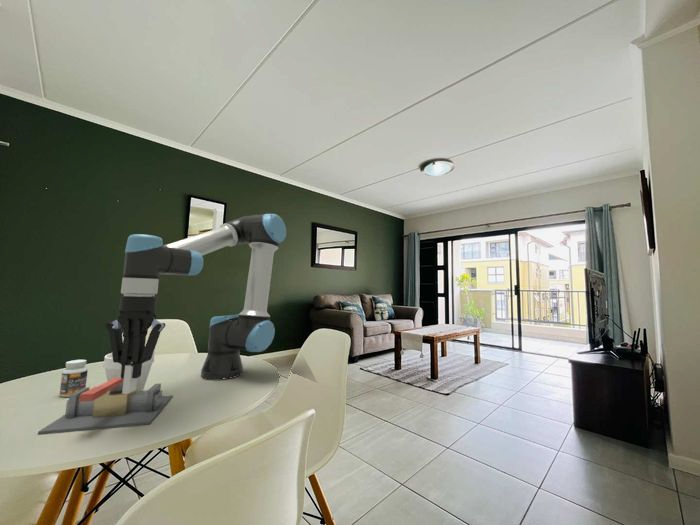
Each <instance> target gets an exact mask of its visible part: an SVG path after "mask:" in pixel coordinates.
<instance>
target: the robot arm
mask: <svg viewBox="0 0 700 525" xmlns="http://www.w3.org/2000/svg"><path fill="white" fill-rule="evenodd" d="M284 222H285V221H284V220H283V219H282V217H281V216H279V215H278V214H276V213H265V214H255V215H254V214H253V215H244V216H242V217H239V218H237V219H233V220H230V221H228V222H225V223H223V224H220V225H219V227H218V228H215V229H214V228H213V229H211V230H209V231H205V232H202V233H199V234H195V235H193V236H190V237H189V236H188V237H187V238H183V239H181V240H177V241H174V242H171V243H168V244H164V243H163V241H164V240H163V239H162V237H160V236H156V235H151V234H143V233H142V234H141V233H140V234H139V233H138V234H137V233H135V234H130V235H129V236H128V237H127V240H126V246H125V250H124V254H125V255H124V264H123V271H122V272H123V273H122V275H123V276H122V280H121V288H120V294H122V296H121V297H120V299H119V305H118V306H119V307H118V309H119V314H118V315H117V317H116V319H115V320H113V321H112V322H107V323H106V324H105V328H106V329H107V332H108V334H109V342H110V347H111V353H112V356H113V362H115V363H116V362H117V363H120V364H121V365H122V368H121V378H124V381H123V390H122V394H129V393H131V392H133V391H135V390H136V384H137V378H138V377H140V375H141V369H142V363H144V362H146V361H149V360H151V358H152V355H153V352H154V351H155V349H156V346H157V343H158V341H159V340H158V339H159V337H160V335H161V332H162V331H163V330H164V328H165V327H166V323H164V322H160V321H159V320H157V316H156V310H157V303H158V297H157V296H156V295H158V289H159V281H160V275H171V276H172V275H173V276H174V275H175V276H180V275H181V276H187V277H188V276H197V275H198V274H200V273H201V271H202V269H203V267H204V262H205V261H204V257H203V256H205V255H207V254H209V253H212V252H216V251H217V250H220V249H222V248H225V247H234V246H237V245H244V244H248V246H249V248H251V254H250V255H251V256H250V262H249V269H248V270H249V271H248V276H247V282H246V283H247V284H246V291H245V298H244V304H243V309H242V311H241V312H240V313H238V314H230V315H219V316H217V315H216V316H213V317H211V319H210V322H209V326H208V343H207V344H208V345H207V355H206V358H205V360H204V363H203V365H202V367H201V370H200V371H201V372H200V378H202V377H203V378H202V379H204V378H206V379H205V380H209V379H222V380H224V379H223V378H229V379H231V378H230V377H234V376H237V375H239V376H241V375H242V374H243V373H242V372H244V366H243V361H242V358H241V355H240V354H241V353H240V351H246V352H249V353H261V352H264V351H265V350H267V349H268V347H269V346H271V344H272V342H273V340H274V337H275V335H276V334H275V332H276V329H275V325H274V323H273V322H272V321H271V315H270V314H269V313H268V304H269V296H270V288H271V281H272V272H273V263H274V262H273V261H274V254H275V252H276V251H277V250H279V246H280V245H279V244H280V243H282V242H284V240H285V239H286V237H287V228H286V224H285V223H284ZM149 329H151V331H150V332H149ZM148 332H149V335H148ZM147 336H148V339H147ZM146 339H147V340H146ZM131 362H132V363H131ZM241 373H242V374H241ZM240 374H241V375H240ZM237 377H238V376H237ZM234 378H235V377H234Z"/></svg>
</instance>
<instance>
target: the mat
mask: <svg viewBox="0 0 700 525" xmlns="http://www.w3.org/2000/svg"><path fill="white" fill-rule="evenodd" d="M173 398H174V394H170V395H162V403H161V405H160V407H159V408H158V409H157V410H155V411H152V412H146V411H142V412H129V413H127V414H126V415H119V416H107V417H94V418H93V415H90V416H78V417H74V418H68V419H67V417H65V414H64V415H63V416H61V417H59V418H57V419H55V420H54V421H52V422H51V423H50V424H47V425H46V426H45V427H43V428H41V429H40V430H39V431H38V432H37V435H47V434H57V433H70V432H77V431H78V432H79V431H90V430H101V429H102V430H103V429H112V428H123V427H125V428H126V427H132V426H135V427H137V426H146V425H151V424H152V423H153V421H154V420H155V419H156V417H157V416H159V415H160V413H161V412H162V411H163V410H164V408H165V407H166V406H167V405H168V403H170V401H171V400H172V399H173Z"/></svg>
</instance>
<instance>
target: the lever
mask: <svg viewBox="0 0 700 525" xmlns="http://www.w3.org/2000/svg"><path fill="white" fill-rule="evenodd" d="M123 381H124V378H113V379H111V380H109V381H107V380H106V382H104V383H101V384H100V385H98V386H94V387H92V388H89V390H88V391H86V392H84V393H82V394H80V398H79V402H85V401H94V400H95V399H97V398H99V397H101V396H102V395H104V394H106V393H107V392H108V391H110V392H120V391H122V390H123Z"/></svg>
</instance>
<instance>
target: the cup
mask: <svg viewBox="0 0 700 525" xmlns="http://www.w3.org/2000/svg"><path fill="white" fill-rule="evenodd" d="M103 361H104V362H103V366H102V367H103V368H104V371H105V375H106V382H107V381H109V380H111V379H113V378H121V368H122V365H121V364H120V363H117V362H116V363H115V362H113V356H112V352H110V353H108V354H106V355H105V356H104V360H103ZM154 362H155V350H154V352H153V355H152V358H151V360H149V361H146V362H144V363H142V369H141V375H140V377H138V378H137V384H136V385H139V390H138V391H144V389H145V386H146V384H147V380H148V377H149V375H150V371H151V367H153V366H152V365H153V363H154ZM131 363H132V362H131Z"/></svg>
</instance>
